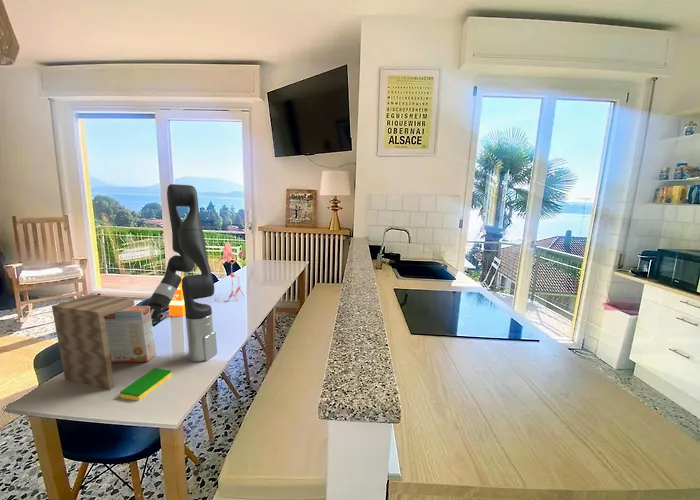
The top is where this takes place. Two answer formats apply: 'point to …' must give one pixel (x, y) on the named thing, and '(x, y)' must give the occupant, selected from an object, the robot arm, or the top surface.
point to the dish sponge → (145, 384)
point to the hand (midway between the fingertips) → (140, 335)
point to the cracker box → (130, 335)
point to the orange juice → (177, 302)
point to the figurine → (227, 256)
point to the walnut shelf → (86, 338)
